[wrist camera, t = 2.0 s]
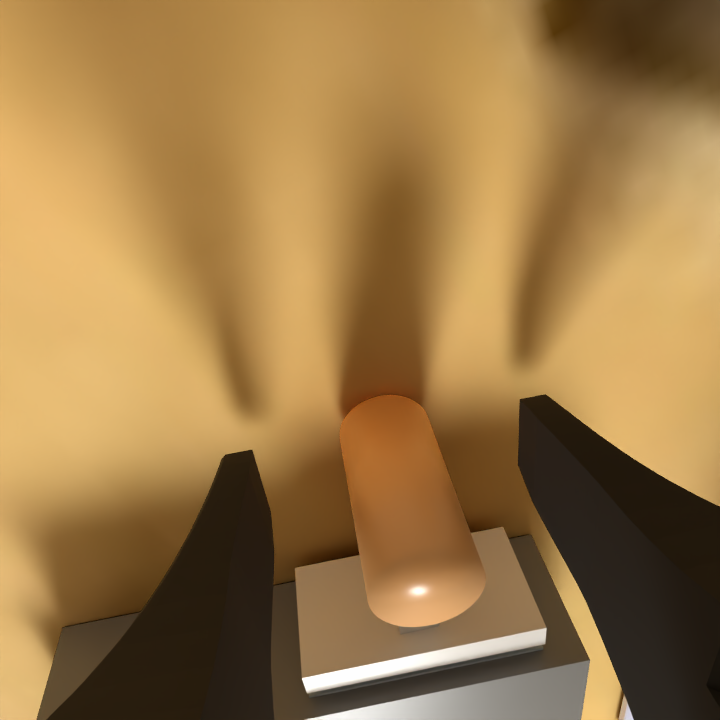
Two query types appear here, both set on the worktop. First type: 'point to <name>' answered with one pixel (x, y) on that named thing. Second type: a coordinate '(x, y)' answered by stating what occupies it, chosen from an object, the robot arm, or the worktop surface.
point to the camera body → (395, 693)
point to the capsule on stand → (408, 565)
